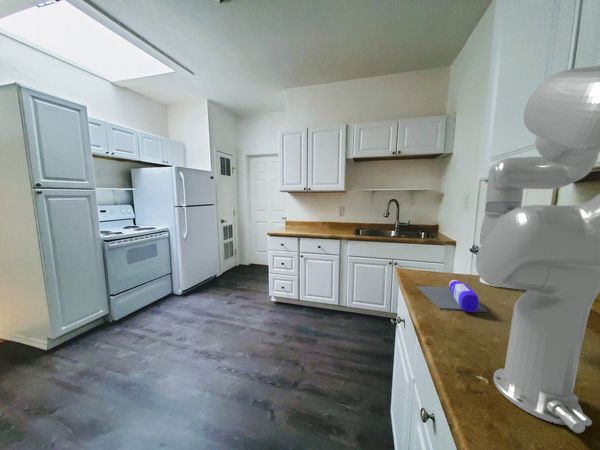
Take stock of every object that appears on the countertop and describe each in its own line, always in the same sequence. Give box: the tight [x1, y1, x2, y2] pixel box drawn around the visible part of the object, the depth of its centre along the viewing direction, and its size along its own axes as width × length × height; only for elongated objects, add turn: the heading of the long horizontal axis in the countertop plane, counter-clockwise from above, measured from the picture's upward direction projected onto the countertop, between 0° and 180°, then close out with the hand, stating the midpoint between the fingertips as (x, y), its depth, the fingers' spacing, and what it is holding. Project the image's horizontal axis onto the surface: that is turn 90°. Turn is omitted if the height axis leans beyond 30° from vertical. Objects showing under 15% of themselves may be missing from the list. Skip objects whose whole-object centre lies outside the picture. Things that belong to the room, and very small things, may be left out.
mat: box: [416, 285, 489, 313], centre depth 92 cm, size 20×16×1 cm
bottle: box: [449, 279, 480, 313], centre depth 87 cm, size 7×6×17 cm
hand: (495, 274), depth 66 cm, fingers closed
